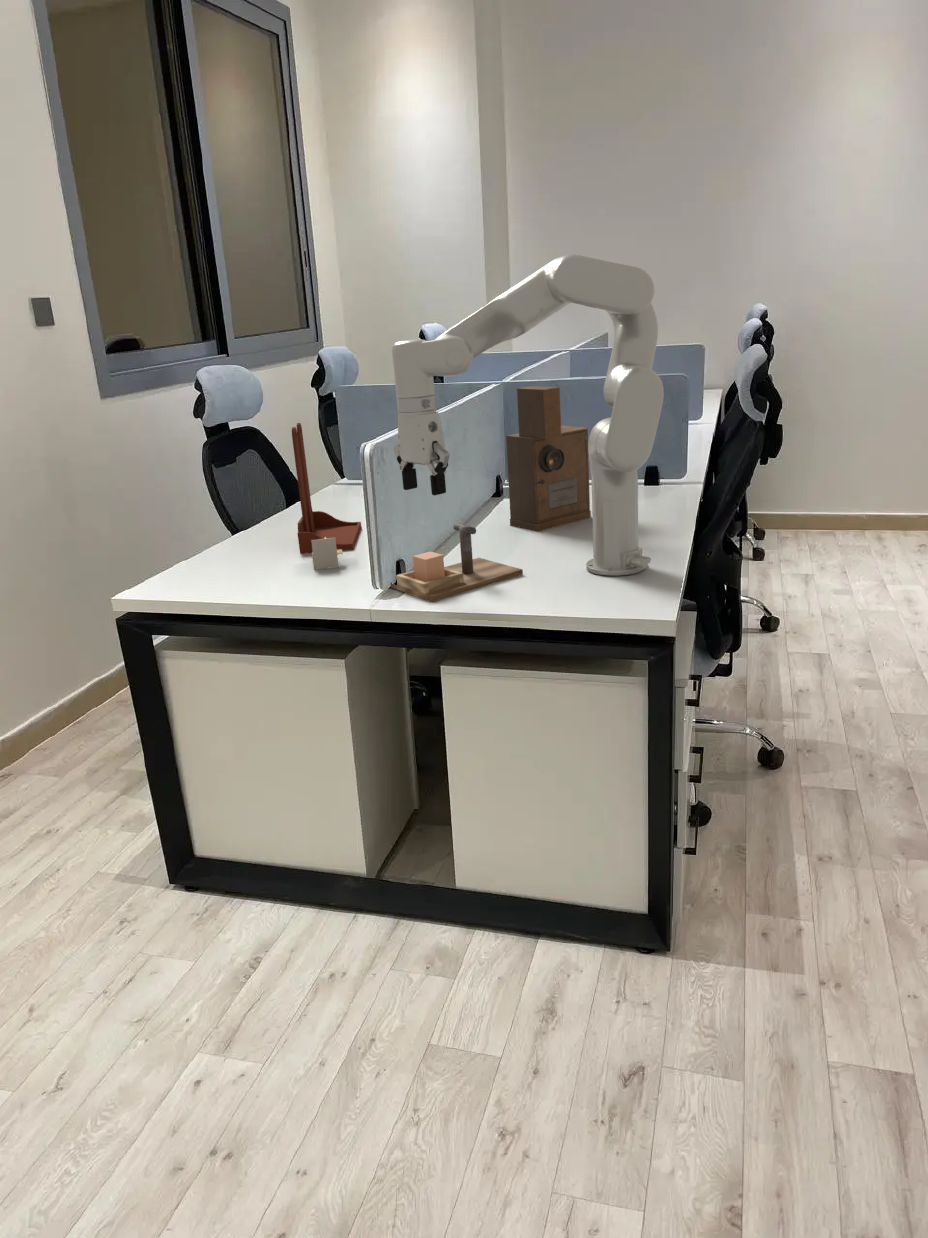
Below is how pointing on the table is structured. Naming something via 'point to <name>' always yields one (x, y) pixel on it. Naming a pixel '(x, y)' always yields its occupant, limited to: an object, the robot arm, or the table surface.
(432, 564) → the salmon orange block
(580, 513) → the vintage camera
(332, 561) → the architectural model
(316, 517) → the red dustpan
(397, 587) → the wooden board with post
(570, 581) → the table surface
